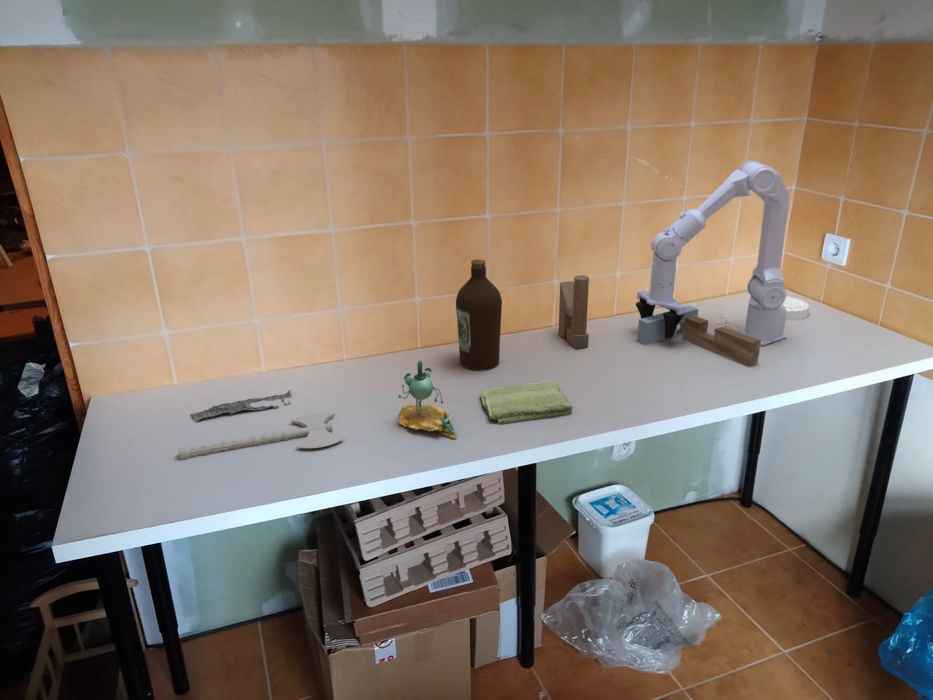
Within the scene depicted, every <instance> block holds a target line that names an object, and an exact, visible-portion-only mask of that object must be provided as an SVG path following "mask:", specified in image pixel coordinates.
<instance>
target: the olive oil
mask: <svg viewBox="0 0 933 700" xmlns="http://www.w3.org/2000/svg"><path fill="white" fill-rule="evenodd" d="M470 263H471V264H470V265H471V267H470V278H469V279H468V280H467V281H466V282H465V283H464V285H462V286H461V288H460V289H459V290H458V292H457V295H456V299H455V311H456V322H457V323H456V325H457V335H458V350H459V353H458V354H459V364H460V365H461V366H462V367H463V368H464V369H468V370H472V371H487V370H491V369H494V368H496V367H497V366H498V365H499V364H500V355H501V354H500V353H501V352H500V349H501V347H500V346H501V324H502V322H501V321H502V310H503V309H502V308H503V307H502V306H503V300H502V296H501V293H500V291H499V289H498V288H497V287H496V286H495V285H494V284H493V282H491V281H490V280H489V279H488V278H487V275H486V274H487V267H486V260H483V259H473V260H471V262H470Z"/></svg>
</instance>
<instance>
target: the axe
mask: <svg viewBox="0 0 933 700" xmlns="http://www.w3.org/2000/svg"><path fill="white" fill-rule="evenodd" d="M335 415H336V413H334V412H333V413H331V412H318V413H317V412H316V413H310V414H305V415H302V416H299V417H297V418H294V419H293V420H291V421H290V423H292V424H295V425H299V426H301V428H294V429H289V430H288V429H283V430H282V431H273V432H272V433H262V434H261V435H258V434H255V435H252V436H250V437H244V438H238V439H237V438H236V439H232V440H224V441H221V442H213V443H211V444H210V443H209V444H202V445H198V446H191V447H190V446H189V447H188V446H181V447H178V449H177V450H178V458H179V460H180V461H183V460H188V459H190V458H195V457H197V456H206V455H208V454H217V453H219V452H220V453H221V452H227V451H230V450H239V449H242V448H247V447H257V446H260V445H268V444H271V443H278V442H280V441H289V440H292V439H297V438H303V437H306V438H305V439H303V441H302V442H300V443H299V444H298V445H296V448H298V449H318V448H323V447H328V446H332V445H334V444H338V443H339V442H341V441H343V440H345V437H343V436H339V435H336V434H334V433H332V432H333V429H334V428H333V425H332V424H333V423H331V422H328V421H329V420H330V419H332V418H333V417H334V416H335Z"/></svg>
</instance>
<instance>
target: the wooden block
mask: <svg viewBox="0 0 933 700" xmlns="http://www.w3.org/2000/svg"><path fill="white" fill-rule="evenodd" d="M589 284H590V277H589V276H587V275H585V274H584V275H582V274H580V275H575V276H574V277H573V280H572V281H561V282H560V283H559V304H558V305H559V307H558V308H559V310H558V335H559V336H560V337H561V338H562V339H566V342H567V343H568V344H569V345H571V347H573V348H574V350H575V349H576V350H577V349H583V348H588V347H589V338H590V337H589V336H590V335H589V333H587V328H588V327H587V321H588V307H589V306H588V305H589Z"/></svg>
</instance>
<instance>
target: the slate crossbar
mask: <svg viewBox="0 0 933 700" xmlns="http://www.w3.org/2000/svg"><path fill="white" fill-rule="evenodd" d="M685 306H686V310H685V315H684V316H683V318H682V319H681V320H680V322H679V323H678V325H679V330H681V331H683V332H684V325H685V317H689V316H692V315H695V316H698V317H699V315H698V314H699V308H697V307H694V306H691V305H685ZM669 311H670V310H668V311H667V312H669ZM665 312H666V311H665ZM665 312H661V313H658V314H655V315H653V316H650V317H646V318H643V319H641V318H640V319H639V318H638V326H637V339H636V342H637V343H639V344H641V345H644V346H649V345H652V344H655V343H659V342H661V341H665V340H667V339H666V338H665V321H664V316H663V313H665ZM677 329H678V326H677V327H676V330H675V332H674V335H673V337H672V338H675V337H677Z"/></svg>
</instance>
